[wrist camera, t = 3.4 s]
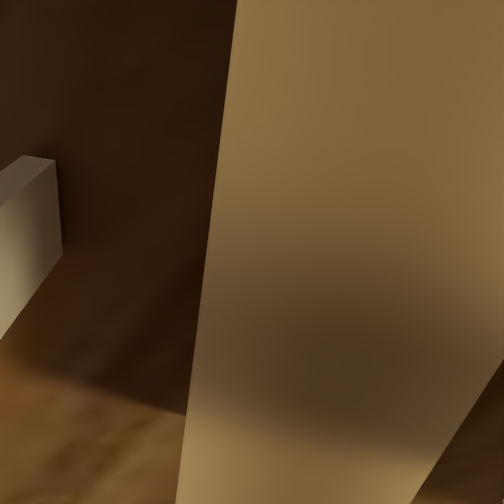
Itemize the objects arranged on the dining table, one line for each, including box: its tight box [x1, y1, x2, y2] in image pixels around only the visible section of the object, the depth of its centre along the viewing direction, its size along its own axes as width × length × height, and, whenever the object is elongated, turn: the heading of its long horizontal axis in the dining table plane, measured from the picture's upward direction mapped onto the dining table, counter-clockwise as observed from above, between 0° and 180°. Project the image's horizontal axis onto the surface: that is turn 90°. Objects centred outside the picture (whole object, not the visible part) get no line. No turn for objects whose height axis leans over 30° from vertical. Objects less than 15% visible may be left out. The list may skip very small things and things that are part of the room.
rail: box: [176, 0, 504, 504], centre depth 9 cm, size 4×16×6 cm, turn 171°
